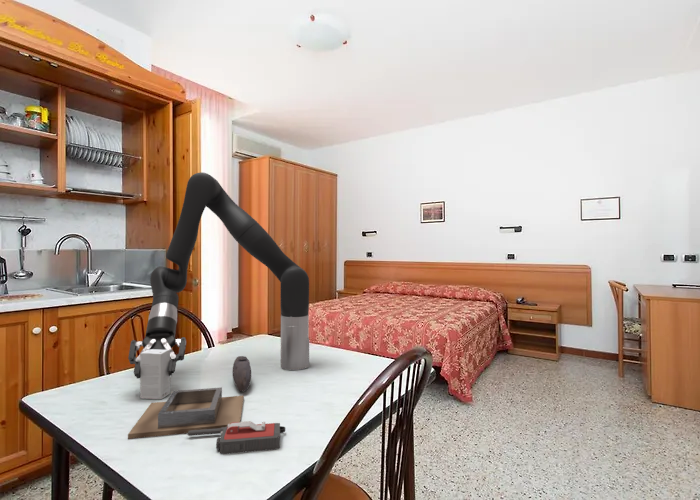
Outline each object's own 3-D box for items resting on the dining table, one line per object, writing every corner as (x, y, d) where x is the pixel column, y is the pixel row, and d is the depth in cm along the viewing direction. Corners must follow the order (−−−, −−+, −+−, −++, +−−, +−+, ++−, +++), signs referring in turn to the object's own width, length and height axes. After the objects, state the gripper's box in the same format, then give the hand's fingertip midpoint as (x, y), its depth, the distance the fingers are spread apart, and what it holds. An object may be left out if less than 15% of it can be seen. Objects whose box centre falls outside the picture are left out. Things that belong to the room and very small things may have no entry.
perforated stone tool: (252, 395, 100) (252, 369, 100) (232, 397, 98) (232, 371, 98) (250, 376, 114) (250, 354, 114) (232, 378, 113) (232, 355, 113)
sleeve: (221, 399, 94) (221, 387, 94) (214, 423, 81) (214, 409, 81) (173, 403, 92) (173, 390, 92) (157, 428, 79) (158, 414, 79)
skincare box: (170, 393, 100) (170, 349, 100) (161, 400, 96) (161, 353, 96) (149, 392, 101) (149, 348, 101) (139, 398, 97) (139, 352, 97)
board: (243, 399, 97) (243, 395, 97) (239, 428, 81) (239, 423, 81) (151, 406, 92) (151, 402, 92) (127, 438, 76) (128, 434, 76)
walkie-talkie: (285, 429, 81) (188, 437, 78) (285, 409, 81) (189, 416, 78) (285, 451, 73) (176, 460, 69) (285, 428, 73) (176, 437, 69)
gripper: (132, 316, 103) (120, 371, 92) (188, 313, 108) (183, 366, 97) (136, 331, 108) (125, 385, 97) (190, 328, 113) (185, 379, 102)
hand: (154, 375), depth 97 cm, fingers closed on skincare box, 7 cm apart
